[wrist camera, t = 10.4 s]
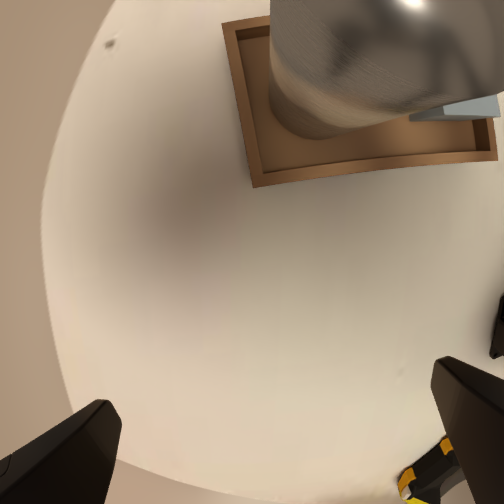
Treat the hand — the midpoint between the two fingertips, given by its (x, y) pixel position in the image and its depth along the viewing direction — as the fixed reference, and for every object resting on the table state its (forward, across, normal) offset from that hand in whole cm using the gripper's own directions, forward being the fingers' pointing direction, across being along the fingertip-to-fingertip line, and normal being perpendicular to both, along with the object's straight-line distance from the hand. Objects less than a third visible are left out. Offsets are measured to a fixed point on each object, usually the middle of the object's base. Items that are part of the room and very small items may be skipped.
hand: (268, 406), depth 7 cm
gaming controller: (+13, -17, +29) cm, 36 cm away
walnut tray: (+13, -8, -9) cm, 18 cm away
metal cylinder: (+11, -4, -9) cm, 15 cm away
